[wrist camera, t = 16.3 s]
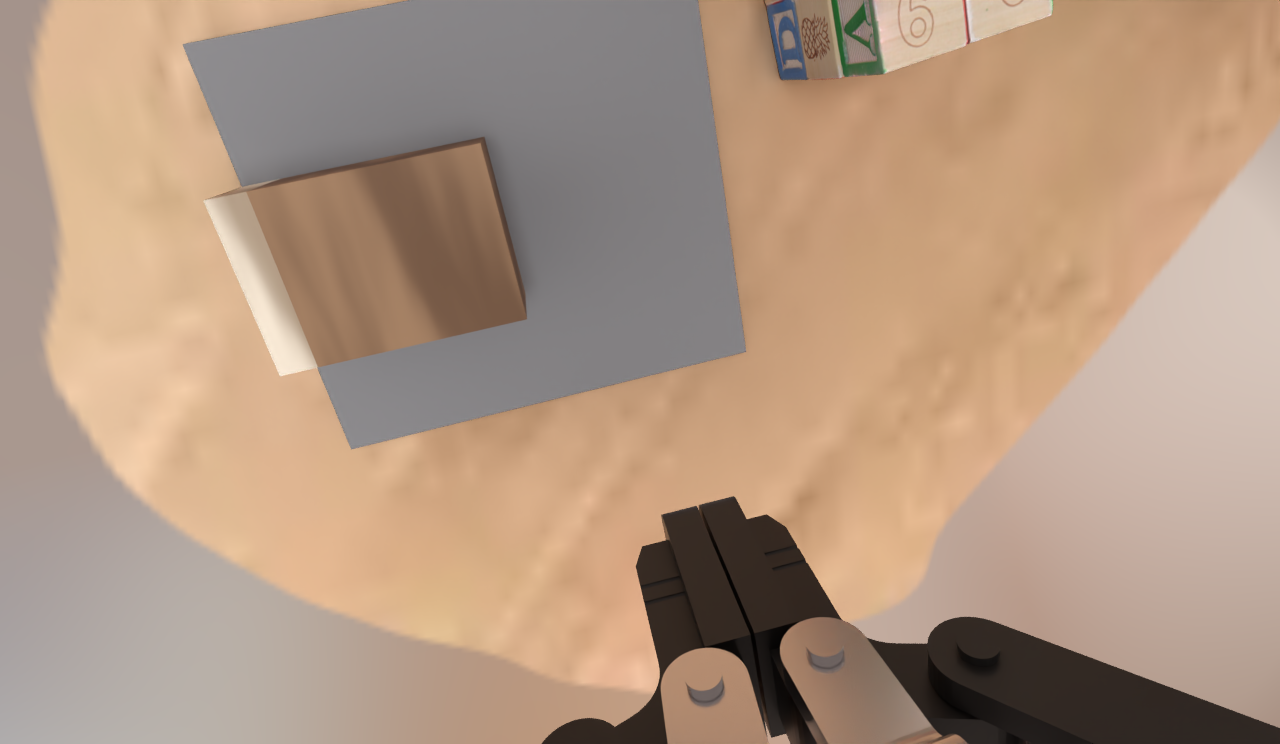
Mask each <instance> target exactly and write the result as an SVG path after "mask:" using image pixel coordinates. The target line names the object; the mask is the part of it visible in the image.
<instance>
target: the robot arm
mask: <svg viewBox="0 0 1280 744" xmlns="http://www.w3.org/2000/svg"><path fill="white" fill-rule="evenodd" d="M661 517H662V522H663V527H664V532H665V537H666V541H662V542H658V543H654V544H650V545H646V546H643V547H642V549H641V552H640V555H639V558H638V561H637V564H636V569H637V573H638V578H639V582H640V586H641V590H642V595H643V599H644V603H645V607H646V611H647V616H648V620H649V624H650V628H651V633H652V637H653V641H654V645H655V650H656V654H657V658H658V662H659V668H660V679H659V683H658V686H657V689H656V691H655V693H654V695H653V696H652V698H651V700H650V701H649V702H648V703H647V704H646V706H644V707H643V708H642V709H641V710H640V711H639V712H638V713H636V714H635V715H633V716H632V717H630V718H629V719H627V720H626V721H624V722H622V723H621V724H619V725H618V726H616V727H614V726H613V725H611V724H610V723H608V722H606V721H603V720H600V719H593V718H585V719H578V720H574V721H571V722H569V723H566V724H564V725H563V726H561V727H559V728H557V729H556V730H555V731H553V732H552V733H551V734H550V735H549V736H548V737H547V738H546V739H545V740H544V741H543V743H542V744H769V743H768V739H767V733H766V727H765V722H766V725H767V728H768V730H769V733H770V735H771V737H775V736H779V735H783V734H787V736H788V739H789V741H790V744H1280V728H1278V727H1275V726H1272V725H1270V724H1267V723H1264V722H1262V721H1259V720H1256V719H1253V718H1251V717H1248V716H1245V715H1243V714H1240V713H1237V712H1235V711H1232V710H1229V709H1226V708H1224V707H1221V706H1219V705H1216V704H1213V703H1210V702H1208V701H1205V700H1203V699H1200V698H1197V697H1194V696H1192V695H1189V694H1186V693H1184V692H1181V691H1178V690H1176V689H1173V688H1170V687H1167V686H1165V685H1162V684H1159V683H1157V682H1154V681H1152V680H1149V679H1146V678H1143V677H1141V676H1138V675H1135V674H1133V673H1130V672H1127V671H1125V670H1122V669H1119V668H1117V667H1114V666H1111V665H1108V664H1106V663H1103V662H1100V661H1098V660H1095V659H1093V658H1090V657H1087V656H1084V655H1082V654H1079V653H1076V652H1074V651H1071V650H1068V649H1066V648H1063V647H1060V646H1058V645H1055V644H1052V643H1050V642H1047V641H1044V640H1042V639H1039V638H1036V637H1034V636H1031V635H1028V634H1025V633H1023V632H1020V631H1017V630H1015V629H1012V628H1009V627H1007V626H1004V625H1001V624H999V623H996V622H993V621H990V620H986V619H982V618H976V617H959V618H953V619H950V620H947V621H944V622H943V623H941V624H939V625H938V626H937V627H935V628H934V630H933V631H932V632H931V634H930V636H929V638H928V643H927V644H896V643H885V642H879V641H875V640H872V639H869V638H867V637H865V636H864V635H863V633H862V632H861V631H860V630H858V629H857V628H856V627H855V626H853V625H851V624H850V623H848V622H845V621H843V620H842V619H841V618H840V616H839V615H838V613H837V612H836V610H835V608H834V607H833V605H832V603H831V602H830V600H829V598H828V597H827V595H826V593H825V592H824V590H823V588H822V587H821V585H820V583H819V582H818V580H817V578H816V577H815V575H814V573H813V572H812V570H811V568H810V567H809V565H808V563H806V561H805V558H804V557H803V555H802V553H801V552H800V550H799V548H797V545H796V543H795V542H794V540H793V538H792V537H791V535H790V533H789V532H788V530H787V528H786V527H785V526H783V525H782V524H780V523H779V522H777V521H776V520H774V519H773V518H771V517H770V516H768V515H767V514H766V515H762V516H758V517H755V518H751V519H746V517H745V515H744V513H743V511H742V509H741V508H740V506H739V504H738V502H737V500H736V498H735V497H734V496H733V497H729V498H725V499H721V500H717V501H713V502H709V503H705V504H702V505H699V510H698V508H697V506H694V507H690V508H686V509H682V510H679V511H675V512H671V513H667V514H663V515H661Z"/></svg>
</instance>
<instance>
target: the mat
mask: <svg viewBox="0 0 1280 744" xmlns="http://www.w3.org/2000/svg"><path fill="white" fill-rule="evenodd" d="M183 47H184V49H185V52H186V54H187V56H188V59H189V61H190V64H191V66H192V68H193V71H194V73H195V76H196V78H197V80H198V83H199V85H200V88H201V90H202V92H203V95H204V97H205V100H206V102H207V104H208V107H209V109H210V112H211V114H212V116H213V119H214V121H215V124H216V126H217V128H218V131H219V133H220V136H221V138H222V140H223V143H224V145H225V147H226V150H227V152H228V155H229V157H230V159H231V162H232V164H233V167H234V169H235V171H236V174H237V176H238V179H239V181H240V183H241V186H242V187H243V186H248V185H253V184H258V183H262V182H267V181H272V180H277V179H282V178H287V177H292V176H296V175H301V174H306V173H311V172H316V171H321V170H325V169H330V168H335V167H340V166H345V165H350V164H355V163H359V162H364V161H369V160H374V159H379V158H384V157H389V156H393V155H398V154H403V153H408V152H413V151H418V150H422V149H427V148H432V147H437V146H442V145H447V144H452V143H456V142H461V141H466V140H471V139H476V138H481V137H485V141H486V145H487V149H488V153H489V156H490V160H491V164H492V168H493V172H494V175H495V179H496V183H497V187H498V191H499V195H500V198H501V202H502V206H503V210H504V214H505V217H506V221H507V225H508V229H509V233H510V236H511V240H512V244H513V248H514V252H515V256H516V259H517V263H518V267H519V271H520V275H521V278H522V282H523V286H524V290H525V295H526V310H527V319H526V320H522V321H518V322H513V323H509V324H505V325H500V326H496V327H492V328H487V329H483V330H479V331H474V332H470V333H466V334H461V335H457V336H453V337H448V338H444V339H440V340H435V341H431V342H427V343H422V344H418V345H414V346H409V347H405V348H400V349H396V350H392V351H387V352H383V353H379V354H374V355H370V356H366V357H361V358H357V359H353V360H348V361H344V362H340V363H335V364H331V365H327V366H322V367H318V371H319V373H320V375H321V378H322V380H323V383H324V385H325V387H326V390H327V392H328V395H329V397H330V399H331V402H332V404H333V407H334V409H335V411H336V414H337V416H338V419H339V421H340V423H341V426H342V428H343V431H344V433H345V435H346V438H347V440H348V443H349V445H350V447H351V449H355V448H359V447H363V446H367V445H371V444H375V443H379V442H383V441H387V440H391V439H395V438H399V437H403V436H407V435H411V434H415V433H419V432H423V431H427V430H432V429H436V428H440V427H444V426H448V425H452V424H456V423H460V422H464V421H468V420H472V419H476V418H480V417H484V416H488V415H492V414H496V413H500V412H504V411H508V410H513V409H517V408H521V407H525V406H529V405H533V404H537V403H541V402H545V401H549V400H553V399H557V398H561V397H565V396H569V395H573V394H577V393H581V392H585V391H589V390H593V389H598V388H602V387H606V386H610V385H614V384H618V383H622V382H626V381H630V380H634V379H638V378H642V377H646V376H650V375H654V374H658V373H662V372H666V371H670V370H674V369H679V368H683V367H687V366H691V365H695V364H699V363H703V362H707V361H711V360H715V359H719V358H723V357H727V356H731V355H735V354H739V353H743V352H746V347H745V340H744V333H743V326H742V318H741V311H740V304H739V296H738V289H737V282H736V274H735V267H734V260H733V253H732V245H731V238H730V231H729V223H728V216H727V209H726V202H725V194H724V187H723V180H722V172H721V165H720V158H719V150H718V143H717V136H716V129H715V121H714V114H713V107H712V99H711V92H710V85H709V78H708V70H707V63H706V56H705V48H704V41H703V34H702V27H701V19H700V12H699V5H698V0H408V1H403V2H398V3H393V4H388V5H383V6H378V7H372V8H367V9H362V10H357V11H352V12H347V13H341V14H336V15H331V16H326V17H321V18H316V19H311V20H305V21H300V22H295V23H290V24H285V25H280V26H275V27H269V28H264V29H259V30H254V31H249V32H244V33H239V34H233V35H228V36H223V37H218V38H213V39H208V40H203V41H197V42H192V43H187V44H183Z"/></svg>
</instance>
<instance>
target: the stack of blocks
mask: <svg viewBox="0 0 1280 744" xmlns="http://www.w3.org/2000/svg"><path fill="white" fill-rule="evenodd" d="M764 1H765V4H766V7H767V14H768V20H769V25H770V30H771V36H772V40H773V45H774V50H775V55H776V60H777V65H778V70H779V74H780V78H781V79H782V80H807V79H810V80H825V79H839V78H844V77H853V76H866V75H879V74H885V73H888V72H891V71H894V70H897V69H900V68H903V67H906V66H909V65H912V64H915V63H918V62H921V61H923V60H926V59H929V58H932V57H935V56H938V55H941V54H944V53H947V52H950V51H953V50H956V49H959V48H962V47H965V46H966V45H967V44H969V43H972V42H975V41H978V40H981V39H984V38H987V37H990V36H993V35H996V34H999V33H1002V32H1005V31H1008V30H1011V29H1014V28H1016V27H1019V26H1022V25H1026V24H1028V23H1031V22H1034V21H1037V20H1040V19H1043V18H1046V17H1048V16H1051V15H1052V12H1053V0H764Z"/></svg>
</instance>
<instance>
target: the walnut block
mask: <svg viewBox="0 0 1280 744" xmlns="http://www.w3.org/2000/svg"><path fill="white" fill-rule="evenodd" d="M203 201H204V203H205V205H206V208H207V210H208V212H209V215H210V217H211V219H212V222H213V224H214V226H215V228H216V231H217V233H218V235H219V238H220V240H221V242H222V244H223V247H224V249H225V251H226V254H227V256H228V258H229V261H230V263H231V265H232V267H233V270H234V272H235V274H236V277H237V279H238V281H239V283H240V286H241V288H242V290H243V293H244V295H245V297H246V299H247V302H248V304H249V306H250V309H251V311H252V313H253V316H254V318H255V320H256V322H257V325H258V327H259V329H260V332H261V334H262V336H263V338H264V341H265V343H266V345H267V348H268V350H269V352H270V355H271V357H272V359H273V361H274V364H275V366H276V368H277V371H278V373H279V375H280V376H283V375H288V374H292V373H296V372H301V371H305V370H309V369H314V368H318V367H322V366H327V365H331V364H335V363H340V362H344V361H348V360H353V359H357V358H361V357H366V356H370V355H374V354H379V353H383V352H387V351H392V350H396V349H400V348H405V347H409V346H414V345H418V344H422V343H427V342H431V341H435V340H440V339H444V338H448V337H453V336H457V335H461V334H466V333H470V332H474V331H479V330H483V329H487V328H492V327H496V326H500V325H505V324H509V323H513V322H518V321H522V320H526V319H527V310H526V295H525V290H524V286H523V282H522V278H521V275H520V271H519V267H518V263H517V259H516V256H515V252H514V248H513V244H512V240H511V236H510V233H509V229H508V225H507V221H506V217H505V214H504V210H503V206H502V202H501V198H500V195H499V191H498V187H497V183H496V179H495V175H494V172H493V168H492V164H491V160H490V156H489V153H488V149H487V145H486V141H485V137H481V138H476V139H471V140H466V141H461V142H456V143H452V144H447V145H442V146H437V147H432V148H427V149H422V150H418V151H413V152H408V153H403V154H398V155H393V156H389V157H384V158H379V159H374V160H369V161H364V162H359V163H355V164H350V165H345V166H340V167H335V168H330V169H325V170H321V171H316V172H311V173H306V174H301V175H296V176H292V177H287V178H282V179H277V180H272V181H267V182H262V183H258V184H253V185H248V186H243V187H240V188H238V189H235V190H232V191H229V192H226V193H223V194H221V195H218V196H215V197H212V198H209V199H206V200H203Z"/></svg>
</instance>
